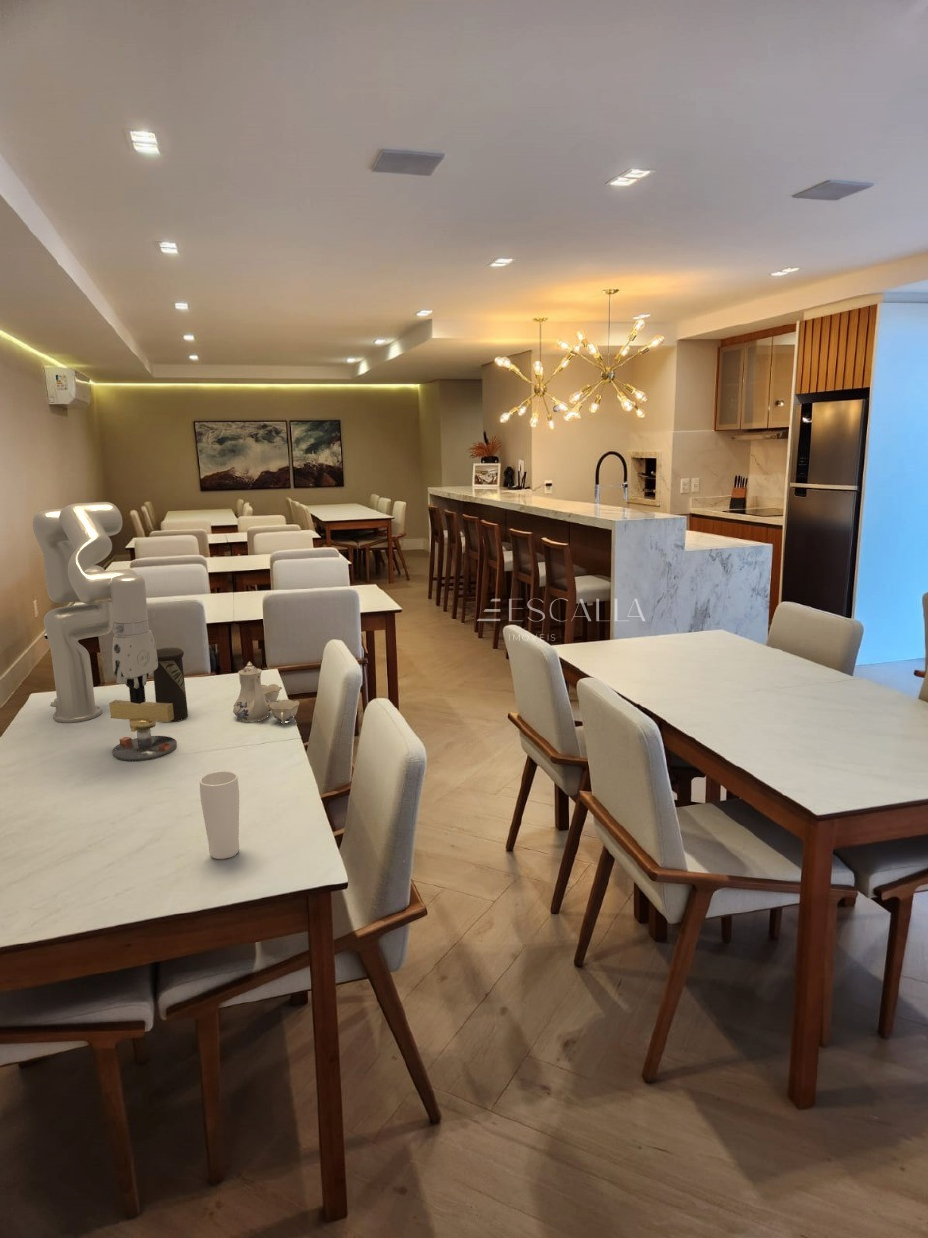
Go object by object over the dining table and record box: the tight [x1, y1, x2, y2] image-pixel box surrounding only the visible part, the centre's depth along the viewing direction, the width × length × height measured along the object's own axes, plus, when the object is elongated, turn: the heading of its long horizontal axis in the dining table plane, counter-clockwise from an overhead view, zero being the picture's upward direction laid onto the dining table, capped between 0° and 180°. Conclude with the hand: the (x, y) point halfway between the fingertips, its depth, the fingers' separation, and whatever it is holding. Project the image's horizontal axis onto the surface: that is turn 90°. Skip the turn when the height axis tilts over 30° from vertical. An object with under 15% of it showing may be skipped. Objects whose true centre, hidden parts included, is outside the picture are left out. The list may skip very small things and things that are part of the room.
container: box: [152, 647, 189, 723], centre depth 222 cm, size 9×9×20 cm
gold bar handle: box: [108, 699, 174, 733], centre depth 198 cm, size 9×16×6 cm, turn 78°
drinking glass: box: [199, 770, 240, 860], centre depth 147 cm, size 7×7×15 cm
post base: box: [112, 728, 178, 762], centre depth 200 cm, size 15×15×6 cm
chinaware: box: [232, 661, 300, 725], centre depth 224 cm, size 28×17×17 cm, turn 35°
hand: (138, 702), depth 190 cm, fingers closed
